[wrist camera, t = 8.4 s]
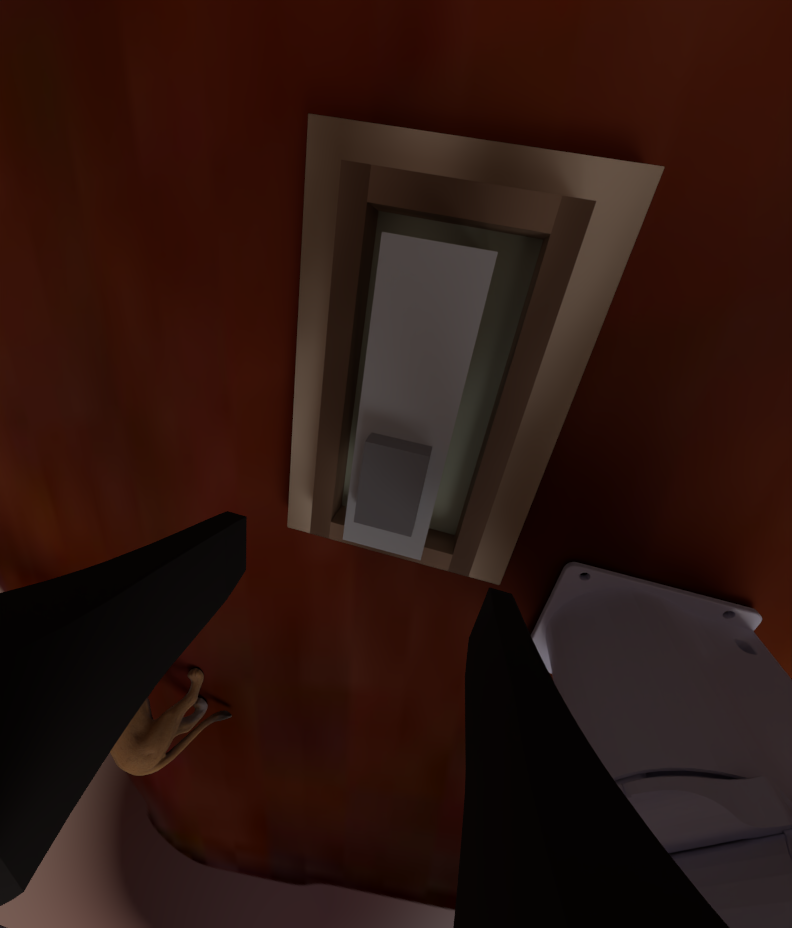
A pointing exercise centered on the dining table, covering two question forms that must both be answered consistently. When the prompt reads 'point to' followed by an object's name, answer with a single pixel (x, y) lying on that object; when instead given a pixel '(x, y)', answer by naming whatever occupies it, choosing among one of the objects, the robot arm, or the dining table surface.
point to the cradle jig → (502, 324)
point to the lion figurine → (162, 732)
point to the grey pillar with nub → (412, 386)
